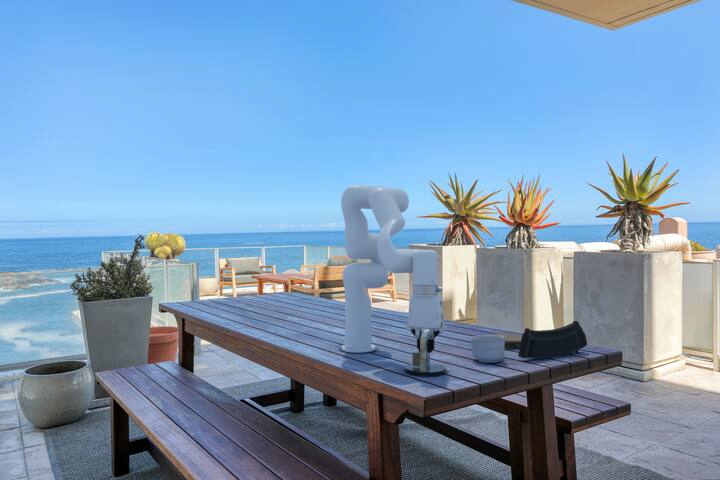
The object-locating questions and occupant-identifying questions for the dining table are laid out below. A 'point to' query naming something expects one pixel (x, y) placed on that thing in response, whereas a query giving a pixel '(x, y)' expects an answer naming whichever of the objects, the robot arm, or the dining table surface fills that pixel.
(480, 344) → the teacup
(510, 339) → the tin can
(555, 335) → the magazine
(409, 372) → the stand
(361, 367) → the dining table surface
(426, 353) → the frame
